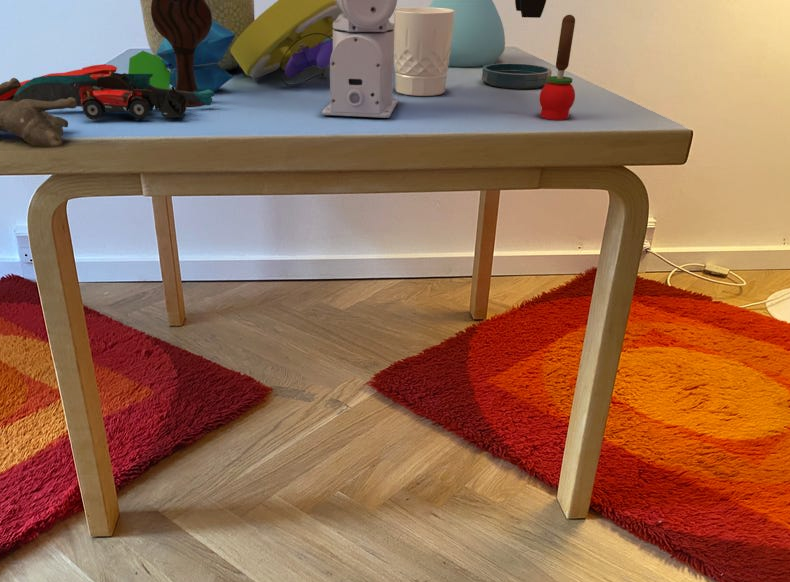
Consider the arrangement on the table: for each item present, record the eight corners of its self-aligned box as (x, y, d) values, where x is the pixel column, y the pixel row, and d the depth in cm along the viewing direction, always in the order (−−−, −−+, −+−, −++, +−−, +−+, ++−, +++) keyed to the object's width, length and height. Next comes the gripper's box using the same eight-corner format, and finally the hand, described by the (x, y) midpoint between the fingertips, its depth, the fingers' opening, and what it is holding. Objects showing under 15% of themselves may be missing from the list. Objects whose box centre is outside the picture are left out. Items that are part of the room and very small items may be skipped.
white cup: (401, 98, 91) (405, 13, 86) (383, 87, 98) (385, 7, 93) (457, 95, 93) (464, 12, 88) (436, 85, 100) (441, 6, 94)
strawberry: (573, 121, 81) (590, 16, 75) (537, 119, 82) (552, 16, 76) (570, 113, 84) (586, 13, 79) (536, 112, 85) (549, 12, 79)
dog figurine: (6, 118, 78) (-36, 160, 73) (-18, 71, 73) (-64, 112, 69) (100, 137, 75) (62, 181, 71) (81, 88, 70) (39, 133, 66)
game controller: (258, 54, 96) (307, 32, 102) (281, 112, 100) (327, 88, 105) (303, 37, 89) (353, 14, 94) (327, 101, 93) (374, 75, 98)
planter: (209, 82, 99) (197, -43, 91) (124, 70, 107) (107, -46, 99) (280, 65, 112) (275, -46, 104) (200, 56, 119) (190, -48, 111)
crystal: (155, 29, 95) (238, 8, 92) (177, 95, 99) (257, 77, 97) (135, 36, 88) (224, 14, 86) (159, 106, 93) (244, 87, 90)
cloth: (146, 57, 102) (151, 74, 103) (58, 70, 104) (63, 86, 105) (69, 78, 79) (76, 99, 80) (-42, 94, 81) (-34, 114, 82)
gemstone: (159, 108, 91) (140, 121, 95) (178, 73, 93) (159, 87, 97) (119, 76, 87) (101, 91, 92) (140, 40, 89) (121, 57, 94)
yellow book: (262, 50, 112) (281, 78, 113) (213, 56, 94) (236, 89, 95) (343, -20, 105) (362, 10, 107) (307, -28, 87) (331, 8, 88)
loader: (187, 110, 83) (182, 68, 81) (182, 119, 79) (177, 75, 77) (84, 111, 83) (76, 69, 80) (73, 121, 79) (65, 76, 76)
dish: (551, 91, 96) (553, 75, 95) (481, 88, 98) (482, 73, 97) (547, 78, 105) (549, 64, 104) (482, 76, 106) (483, 62, 105)
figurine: (224, 99, 90) (210, -64, 81) (213, 107, 86) (198, -64, 77) (168, 97, 91) (148, -65, 81) (155, 105, 87) (132, -65, 77)
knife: (211, 74, 82) (216, 109, 86) (211, 68, 82) (216, 103, 86) (-8, 78, 79) (8, 114, 83) (-7, 72, 79) (9, 108, 84)
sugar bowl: (504, 69, 111) (513, -13, 105) (410, 66, 113) (413, -15, 107) (502, 55, 124) (510, -19, 118) (417, 53, 126) (420, -21, 120)
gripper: (594, -132, 69) (571, 21, 76) (572, -122, 81) (554, 8, 88) (521, -132, 70) (505, 20, 77) (511, -122, 82) (497, 7, 89)
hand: (527, 14), depth 83 cm, fingers open, 7 cm apart
